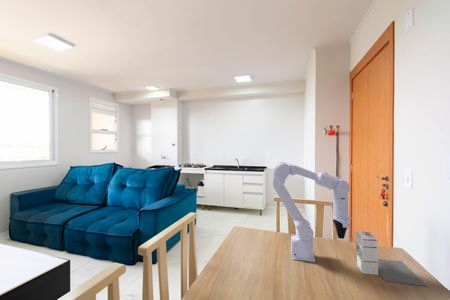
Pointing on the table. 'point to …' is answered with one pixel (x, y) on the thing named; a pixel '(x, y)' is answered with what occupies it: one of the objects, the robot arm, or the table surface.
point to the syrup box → (367, 252)
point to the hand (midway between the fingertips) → (340, 237)
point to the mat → (397, 272)
